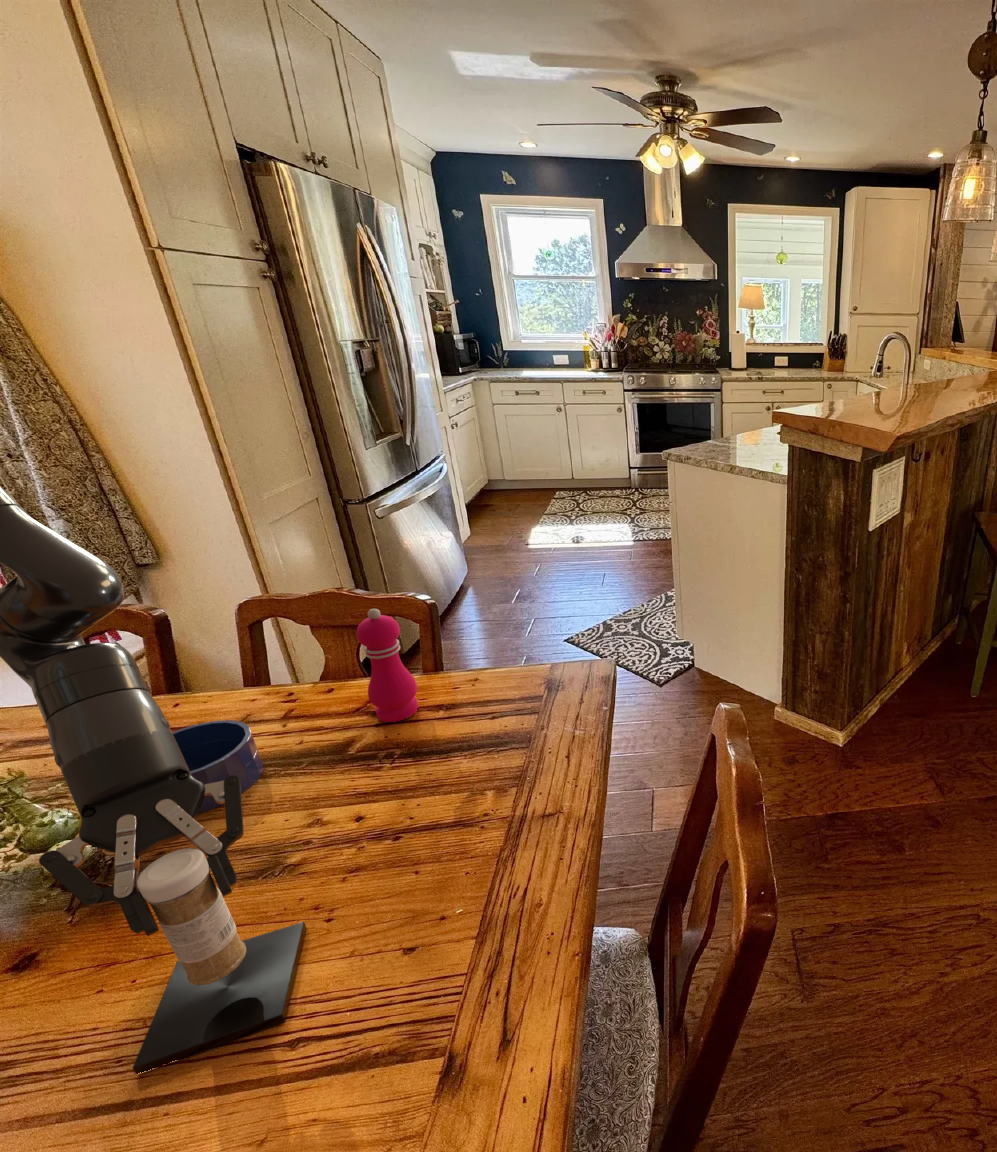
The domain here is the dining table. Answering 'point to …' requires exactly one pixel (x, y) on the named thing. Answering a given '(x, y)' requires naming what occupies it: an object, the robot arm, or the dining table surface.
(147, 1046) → the plate
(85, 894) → the robot arm
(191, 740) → the bowl
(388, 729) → the dining table surface
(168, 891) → the sprinkles bottle
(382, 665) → the pepper mill
